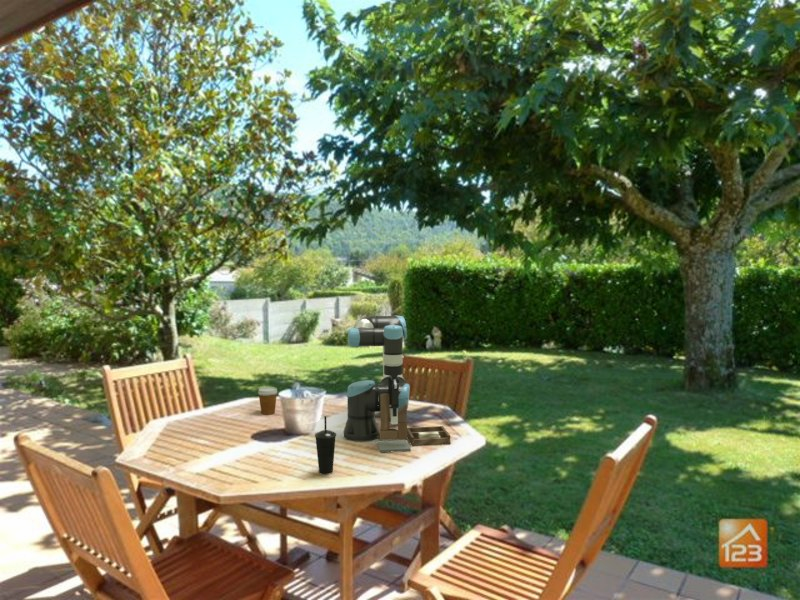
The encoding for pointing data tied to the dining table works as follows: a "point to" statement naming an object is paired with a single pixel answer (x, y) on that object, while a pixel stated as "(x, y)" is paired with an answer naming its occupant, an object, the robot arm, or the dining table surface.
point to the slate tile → (393, 446)
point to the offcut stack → (428, 435)
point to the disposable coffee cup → (267, 400)
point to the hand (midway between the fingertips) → (393, 422)
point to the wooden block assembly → (385, 421)
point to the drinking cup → (325, 449)
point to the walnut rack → (415, 441)
